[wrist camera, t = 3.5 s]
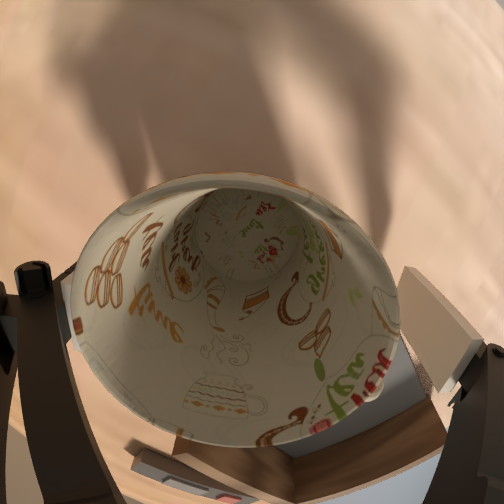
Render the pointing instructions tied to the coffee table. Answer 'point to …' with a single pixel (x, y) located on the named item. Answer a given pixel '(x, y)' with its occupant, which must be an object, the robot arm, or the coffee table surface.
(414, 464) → the brown corner wall
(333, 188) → the coffee table surface
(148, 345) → the mug
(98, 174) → the coffee table surface
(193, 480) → the remote
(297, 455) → the mat
